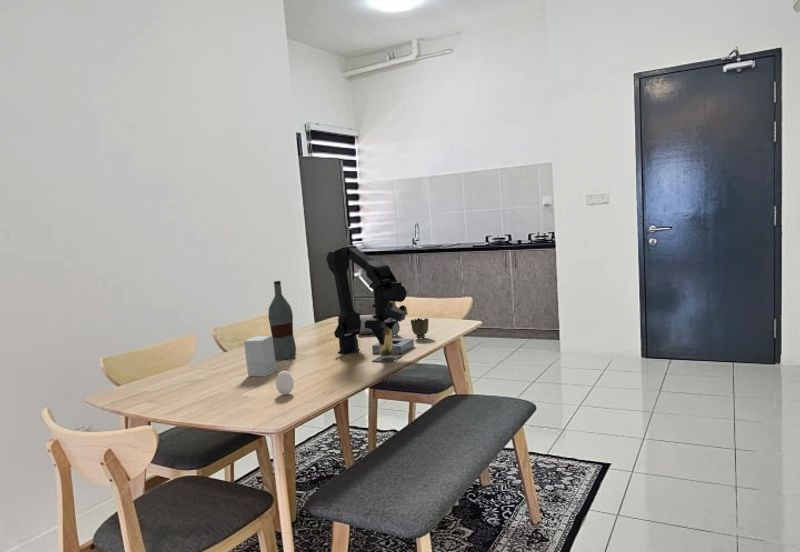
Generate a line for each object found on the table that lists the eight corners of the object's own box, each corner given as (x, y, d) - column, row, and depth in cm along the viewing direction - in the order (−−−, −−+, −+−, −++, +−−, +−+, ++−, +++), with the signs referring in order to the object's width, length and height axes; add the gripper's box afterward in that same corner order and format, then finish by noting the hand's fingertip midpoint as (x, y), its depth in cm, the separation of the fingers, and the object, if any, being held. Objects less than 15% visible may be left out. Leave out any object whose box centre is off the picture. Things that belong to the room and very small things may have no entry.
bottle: (278, 355, 226) (271, 280, 223) (300, 355, 224) (293, 279, 221) (268, 361, 217) (260, 283, 214) (291, 361, 215) (283, 282, 212)
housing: (372, 353, 218) (372, 345, 217) (386, 345, 228) (386, 338, 228) (401, 354, 213) (400, 346, 212) (414, 346, 223) (413, 338, 223)
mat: (372, 361, 204) (371, 360, 204) (382, 356, 212) (381, 355, 211) (392, 362, 201) (392, 361, 201) (401, 357, 208) (401, 355, 208)
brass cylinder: (377, 355, 205) (375, 329, 204) (383, 352, 209) (381, 326, 208) (389, 356, 203) (387, 329, 202) (395, 352, 207) (393, 326, 206)
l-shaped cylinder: (406, 326, 260) (363, 328, 264) (403, 304, 256) (360, 307, 260) (399, 343, 243) (354, 345, 247) (396, 320, 240) (350, 322, 244)
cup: (433, 336, 238) (431, 317, 237) (424, 340, 232) (422, 321, 231) (417, 336, 242) (416, 317, 241) (408, 339, 236) (407, 320, 235)
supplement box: (277, 370, 203) (273, 335, 201) (265, 376, 196) (261, 340, 194) (259, 370, 205) (255, 335, 204) (247, 376, 198) (243, 340, 197)
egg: (279, 398, 170) (276, 374, 169) (275, 394, 174) (273, 370, 174) (296, 395, 172) (294, 371, 171) (292, 390, 177) (290, 367, 176)
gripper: (391, 304, 192) (394, 350, 194) (413, 295, 209) (416, 337, 211) (361, 304, 197) (365, 349, 199) (385, 296, 214) (389, 337, 215)
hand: (385, 343), depth 206 cm, fingers closed on brass cylinder, 5 cm apart
